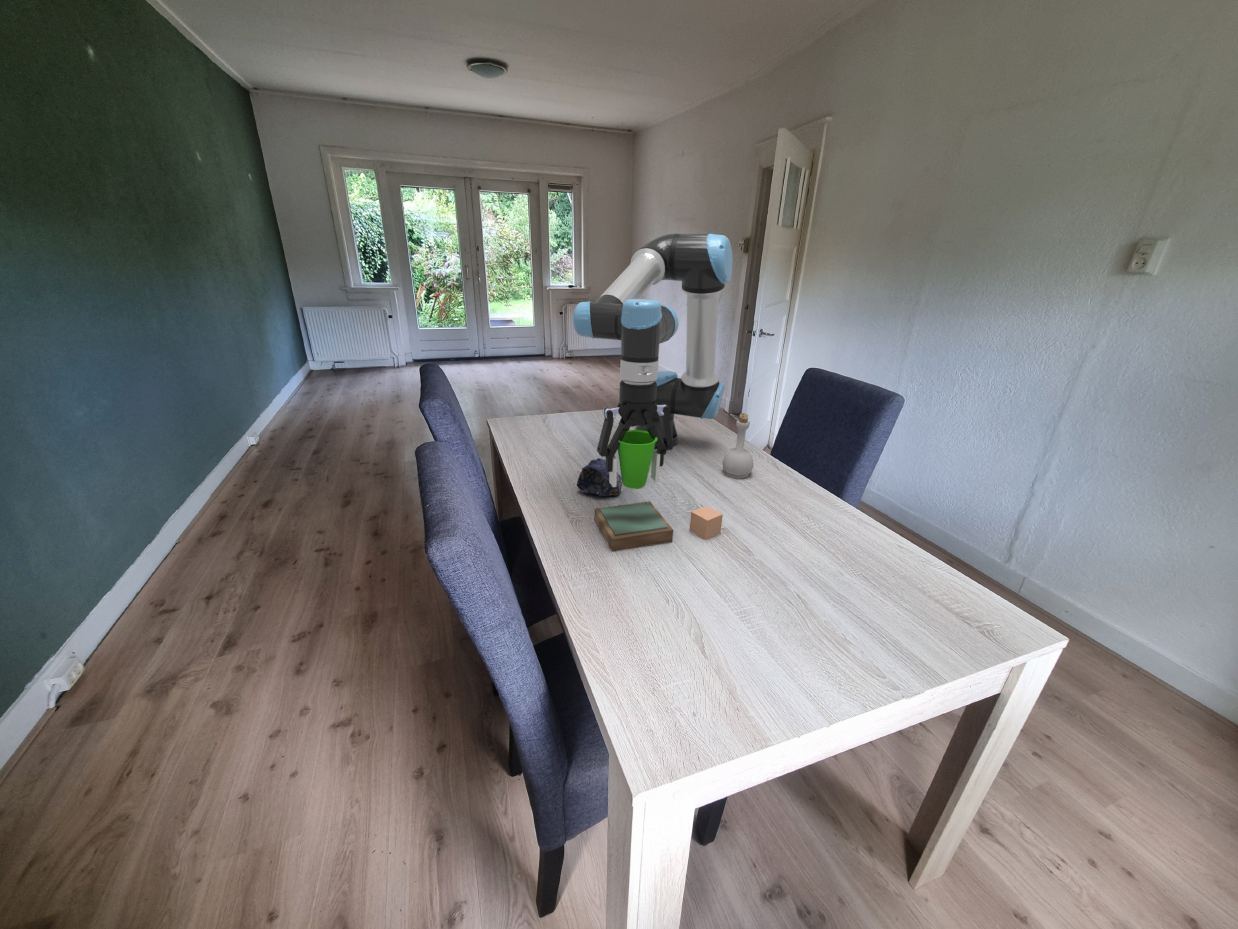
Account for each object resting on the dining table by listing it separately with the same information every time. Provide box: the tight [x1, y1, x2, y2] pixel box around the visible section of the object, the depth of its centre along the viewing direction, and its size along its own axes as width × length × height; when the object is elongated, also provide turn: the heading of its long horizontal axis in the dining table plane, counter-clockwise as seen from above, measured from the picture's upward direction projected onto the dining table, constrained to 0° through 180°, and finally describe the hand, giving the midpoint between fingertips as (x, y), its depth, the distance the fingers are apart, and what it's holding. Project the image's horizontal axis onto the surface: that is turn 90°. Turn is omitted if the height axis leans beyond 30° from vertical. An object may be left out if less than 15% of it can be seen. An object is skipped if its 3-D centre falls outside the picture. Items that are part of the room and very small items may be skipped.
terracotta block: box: [689, 505, 724, 541], centre depth 112 cm, size 5×5×5 cm
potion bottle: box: [721, 412, 755, 479], centre depth 140 cm, size 9×9×18 cm
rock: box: [576, 457, 624, 497], centre depth 129 cm, size 11×10×10 cm
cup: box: [617, 429, 658, 490], centre depth 106 cm, size 9×9×11 cm
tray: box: [593, 500, 674, 552], centre depth 112 cm, size 14×14×3 cm
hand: (633, 481), depth 108 cm, fingers closed on cup, 9 cm apart
